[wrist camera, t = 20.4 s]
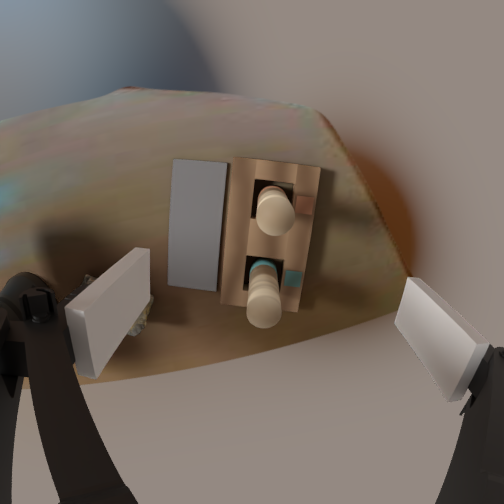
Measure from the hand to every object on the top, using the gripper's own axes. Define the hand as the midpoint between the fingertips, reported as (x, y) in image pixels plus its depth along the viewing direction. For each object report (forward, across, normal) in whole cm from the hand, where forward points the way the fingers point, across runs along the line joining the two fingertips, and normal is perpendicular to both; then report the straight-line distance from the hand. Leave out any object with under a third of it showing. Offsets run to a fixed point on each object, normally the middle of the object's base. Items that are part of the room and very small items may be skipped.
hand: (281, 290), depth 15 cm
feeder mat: (+32, -10, -5) cm, 34 cm away
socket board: (+32, +1, -5) cm, 33 cm away
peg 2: (+32, +1, -11) cm, 34 cm away
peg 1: (+32, +1, 0) cm, 32 cm away
